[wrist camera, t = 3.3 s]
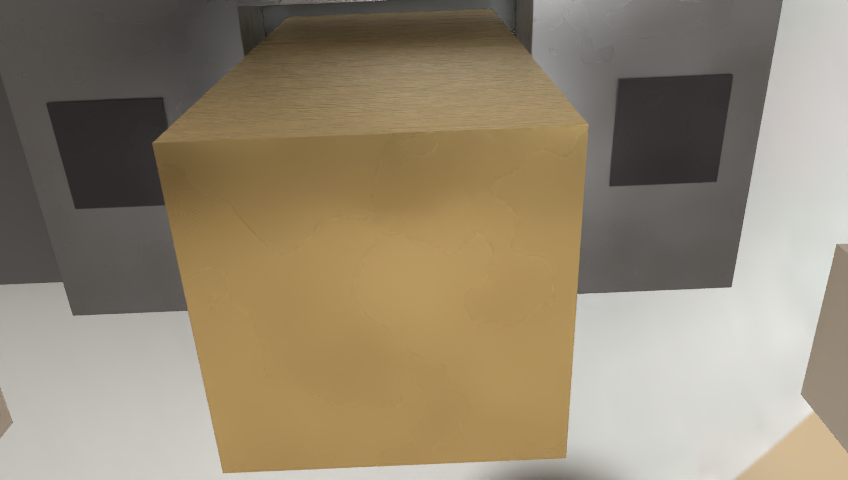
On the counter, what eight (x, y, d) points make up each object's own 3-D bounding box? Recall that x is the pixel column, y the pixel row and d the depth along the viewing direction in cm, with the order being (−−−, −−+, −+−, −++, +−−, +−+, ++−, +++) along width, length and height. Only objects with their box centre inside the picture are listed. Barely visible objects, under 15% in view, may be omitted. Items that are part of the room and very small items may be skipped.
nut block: (287, 17, 20) (152, 143, 10) (492, 8, 20) (588, 124, 10) (309, 205, 23) (223, 472, 12) (490, 197, 23) (565, 457, 12)
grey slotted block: (110, 268, 24) (71, 317, 21) (27, -47, 19) (-36, -39, 17) (694, 244, 24) (732, 288, 21) (742, -77, 19) (798, -73, 17)
